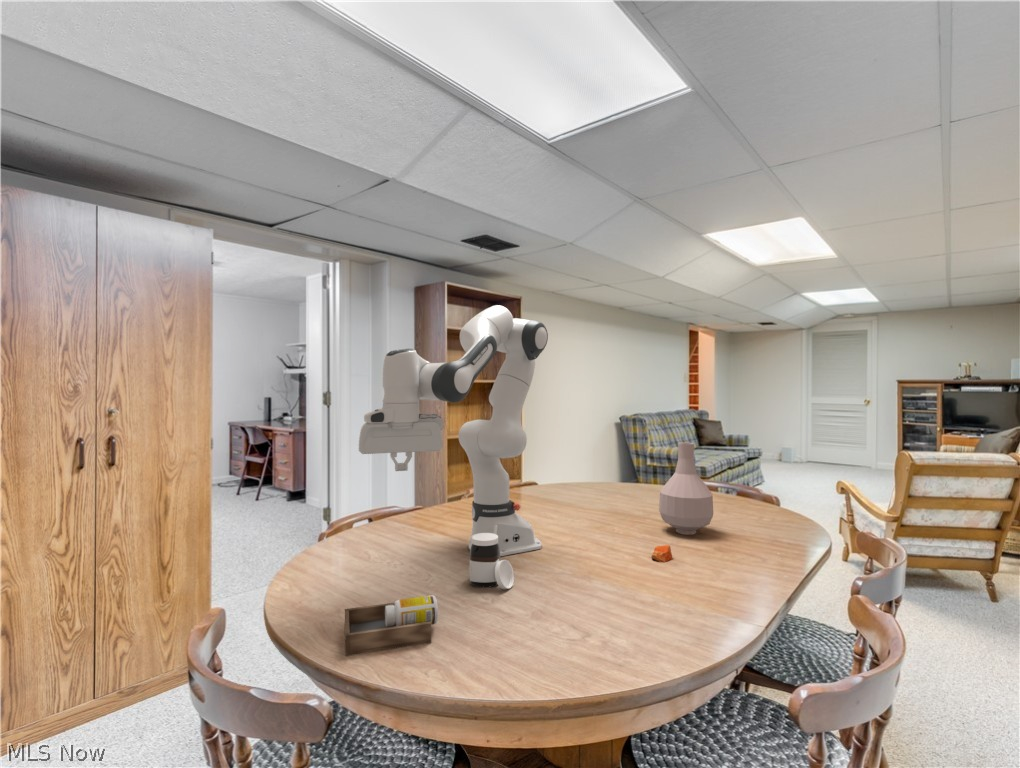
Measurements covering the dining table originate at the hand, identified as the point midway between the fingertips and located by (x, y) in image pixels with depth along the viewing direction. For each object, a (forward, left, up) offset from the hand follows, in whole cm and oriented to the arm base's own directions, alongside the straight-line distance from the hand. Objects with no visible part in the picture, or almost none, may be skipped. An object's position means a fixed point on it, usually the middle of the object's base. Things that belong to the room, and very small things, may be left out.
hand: (401, 470), depth 128 cm
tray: (+6, +23, -29) cm, 37 cm away
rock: (-74, +1, -30) cm, 79 cm away
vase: (-97, -19, -29) cm, 103 cm away
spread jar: (-22, +4, -29) cm, 37 cm away
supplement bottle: (-5, +23, -25) cm, 34 cm away
